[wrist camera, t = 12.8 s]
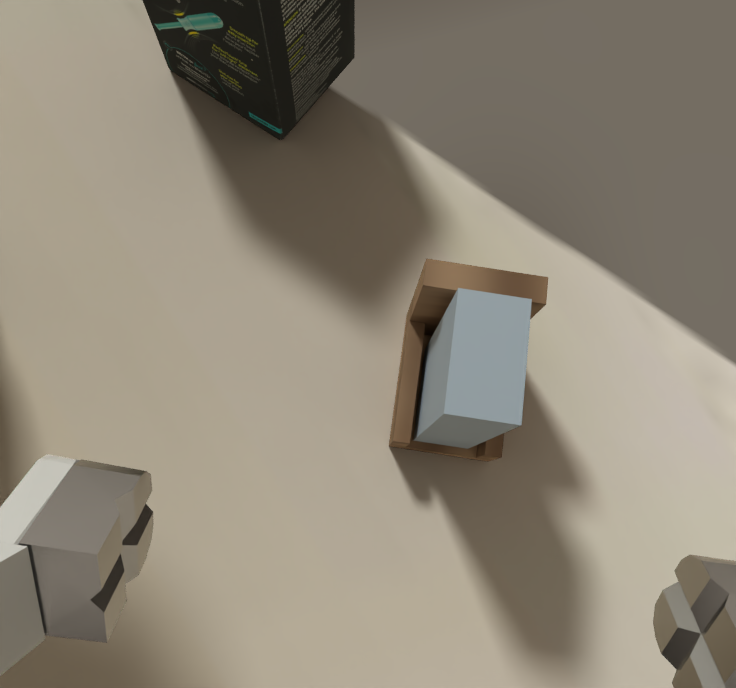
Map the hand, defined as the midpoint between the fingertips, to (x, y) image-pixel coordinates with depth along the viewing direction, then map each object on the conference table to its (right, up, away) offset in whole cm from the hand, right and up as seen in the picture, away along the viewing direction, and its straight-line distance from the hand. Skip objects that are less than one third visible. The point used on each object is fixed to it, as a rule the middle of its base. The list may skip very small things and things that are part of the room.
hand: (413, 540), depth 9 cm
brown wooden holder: (+5, 0, +32) cm, 32 cm away
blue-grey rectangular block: (+4, -1, +30) cm, 31 cm away
